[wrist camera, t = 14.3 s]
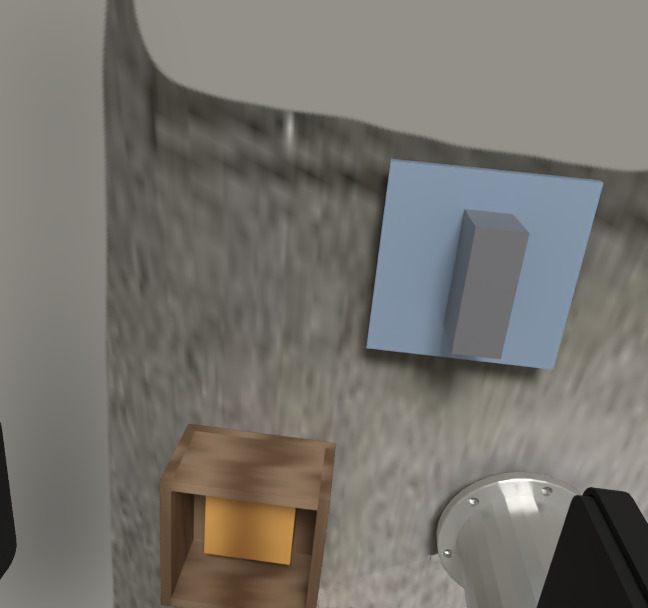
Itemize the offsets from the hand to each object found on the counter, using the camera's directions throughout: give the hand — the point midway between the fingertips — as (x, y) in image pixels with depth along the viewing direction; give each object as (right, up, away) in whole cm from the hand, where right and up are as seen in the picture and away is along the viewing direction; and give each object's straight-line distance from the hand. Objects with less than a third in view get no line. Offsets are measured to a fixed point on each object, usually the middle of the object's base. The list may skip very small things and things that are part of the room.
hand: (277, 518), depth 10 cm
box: (-5, -12, +40) cm, 43 cm away
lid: (+11, +7, +31) cm, 34 cm away
